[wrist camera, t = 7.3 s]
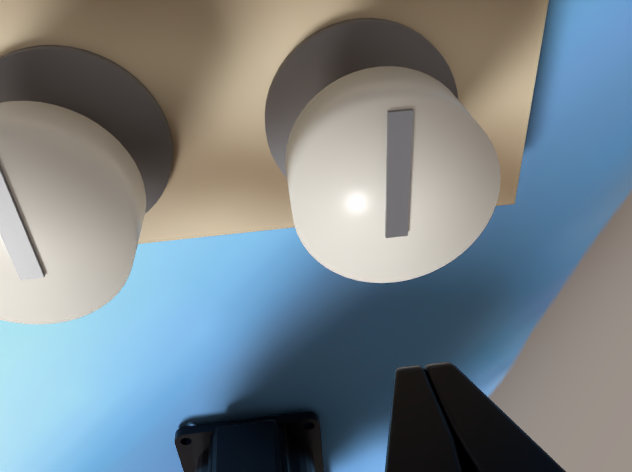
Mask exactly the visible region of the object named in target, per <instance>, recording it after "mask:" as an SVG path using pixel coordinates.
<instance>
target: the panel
mask: <svg viewBox="0 0 632 472" xmlns="http://www.w3.org/2000/svg"><path fill="white" fill-rule="evenodd" d="M548 2H549V0H0V103H2V102H8V101H35V102H43V103H48V104H53V105H57V106H60V107H63V108H66V109H70V110H72V111H74V112H77V113H79V114H82V115H84V116H86V117H88V118H89V119H91V120H93V121H94V122H96V123H97V124H99V125H100V126H101V127H103V128H104V129H105V130H107V131H108V132H109V133H110V134H112V135H113V136H114V137H115V138H116V139H117V140H118V141H119V142H120V143H121V144H122V145H123V147H124V148H125V149H126V150H127V151H128V153H129V154H130V156H131V157H132V159H133V160H134V162H135V163H136V165H137V167H138V169H139V171H140V174H141V177H142V180H143V183H144V187H145V193H146V210H145V217H144V221H143V225H142V229H141V233H140V237H139V241H138V244H141V243H150V242H160V241H169V240H178V239H188V238H197V237H207V236H216V235H226V234H235V233H245V232H254V231H263V230H273V229H282V228H292V227H295V225H294V222H293V216H292V210H291V203H290V196H289V189H288V182H287V175H286V165H285V156H286V148H287V143H288V139H289V135H290V133H291V130H292V128H293V126H294V123H295V121H296V120H297V118H298V116H299V115H300V113H301V111H302V110H303V109H304V108H305V106H306V105H307V104H308V103H309V101H310V100H311V99H312V98H314V97H315V96H316V95H317V94H318V93H319V92H320V91H321V90H323V89H324V88H325V87H326V86H328V85H329V84H331V83H333V82H334V81H336V80H338V79H339V78H341V77H343V76H346V75H348V74H350V73H353V72H356V71H359V70H363V69H366V68H373V67H379V66H396V67H405V68H409V69H413V70H417V71H420V72H422V73H425V74H427V75H430V76H431V77H433V78H435V79H436V80H438V81H440V82H441V83H442V84H443V85H444V86H446V87H447V88H448V89H449V90H450V91H451V92H452V93H453V94H454V96H455V97H456V98H457V99H458V100H459V101H460V103H461V104H462V105H463V106H464V107H465V109H466V110H467V111H468V112H469V113H470V115H471V116H472V117H473V118H474V119H475V121H476V122H477V123H478V124H479V125H480V127H481V128H482V129H483V130H484V131H485V133H486V134H487V135H488V137H489V139H490V140H491V142H492V143H493V146H494V148H495V151H496V153H497V156H498V160H499V164H500V174H501V182H500V192H499V196H498V201H497V204H496V206H499V205H509V204H515V198H516V192H517V186H518V181H519V175H520V169H521V163H522V157H523V151H524V145H525V139H526V133H527V127H528V121H529V115H530V109H531V103H532V97H533V91H534V85H535V79H536V73H537V68H538V62H539V56H540V50H541V44H542V38H543V32H544V26H545V20H546V14H547V8H548Z"/></svg>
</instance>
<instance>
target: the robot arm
mask: <svg viewBox="0 0 632 472" xmlns="http://www.w3.org/2000/svg"><path fill="white" fill-rule="evenodd" d="M175 445H176V448H177V451H178V455H179V458H180V461H181V464H182V467H183V471H184V472H324V471H323V458H322V445H321V433H320V422H319V416H318V415H317V414H316V413H314V412H301V413H293V414H285V415H277V416H269V417H261V418H253V419H245V420H237V421H229V422H221V423H213V424H205V425H197V426H189V427H183V428H180V429H178V430H177V431H176V434H175ZM385 472H566V471H565V470H564V469H563V468H561V467H560V466H559V465H558V464H557V463H556V462H555V461H554V460H553V459H552V458H551V457H550V456H549V455H548V454H547V453H546V452H545V451H544V450H543V449H542V448H541V447H540V446H538V445H537V444H536V443H535V442H534V441H533V440H532V439H531V438H530V437H529V436H528V435H527V434H526V433H525V432H524V431H523V430H522V429H521V428H520V427H519V426H517V425H516V424H515V423H514V422H513V421H512V420H511V419H510V418H509V417H508V416H507V415H506V414H505V413H504V412H503V411H502V410H501V409H500V408H499V407H498V406H497V405H495V404H494V403H493V402H492V401H491V400H490V399H489V398H488V397H487V396H486V395H485V394H484V393H483V392H482V391H481V390H480V389H479V388H478V387H477V386H476V385H475V384H473V383H472V382H471V381H470V380H469V379H468V378H467V377H466V376H465V375H464V374H463V373H462V372H461V371H460V370H459V369H458V368H457V367H456V366H455V365H453V364H452V363H449V362H442V363H433V364H427V365H425V366H424V367H423V368H422V367H421V366H419V365H416V366H407V367H399V368H397V369H396V370H395V373H394V383H393V394H392V404H391V414H390V424H389V435H388V445H387V455H386V466H385Z"/></svg>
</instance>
